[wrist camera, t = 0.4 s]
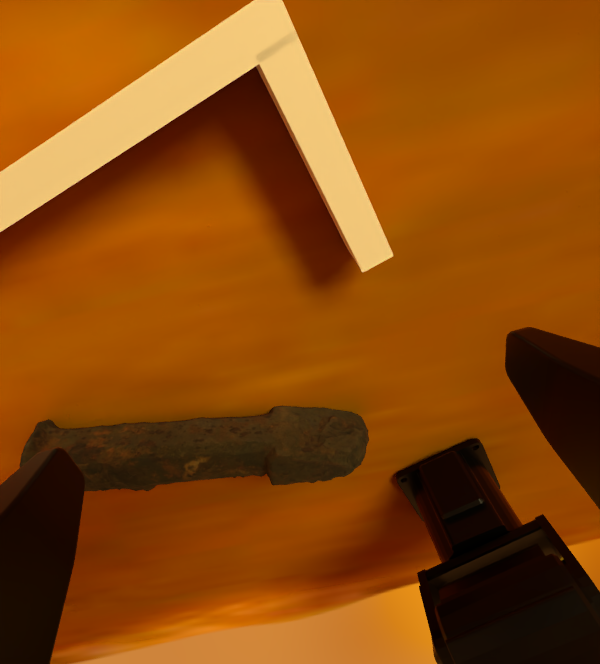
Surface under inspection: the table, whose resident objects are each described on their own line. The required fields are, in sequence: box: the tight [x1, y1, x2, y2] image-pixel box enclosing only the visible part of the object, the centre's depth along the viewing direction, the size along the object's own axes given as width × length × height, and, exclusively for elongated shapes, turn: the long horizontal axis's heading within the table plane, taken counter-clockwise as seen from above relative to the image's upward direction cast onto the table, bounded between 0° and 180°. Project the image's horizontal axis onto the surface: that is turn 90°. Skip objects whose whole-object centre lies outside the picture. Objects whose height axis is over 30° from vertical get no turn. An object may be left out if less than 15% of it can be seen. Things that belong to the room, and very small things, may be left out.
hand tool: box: [20, 406, 369, 491], centre depth 24 cm, size 19×4×5 cm, turn 87°
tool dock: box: [0, 0, 393, 272], centre depth 19 cm, size 10×27×3 cm, turn 118°
